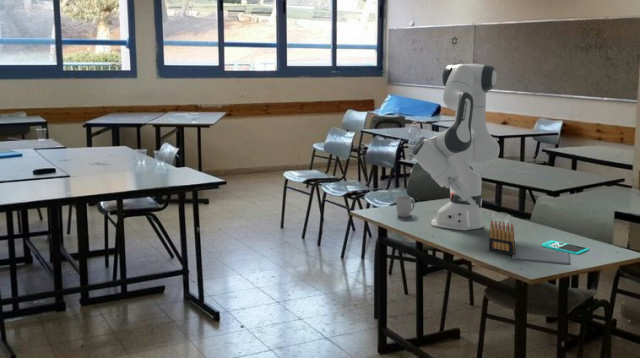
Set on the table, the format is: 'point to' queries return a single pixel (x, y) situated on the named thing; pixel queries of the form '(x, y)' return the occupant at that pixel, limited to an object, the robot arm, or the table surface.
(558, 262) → the rubber mat
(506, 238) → the ammunition clip
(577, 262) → the table surface
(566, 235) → the table surface
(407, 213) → the cup
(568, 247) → the handheld game console
